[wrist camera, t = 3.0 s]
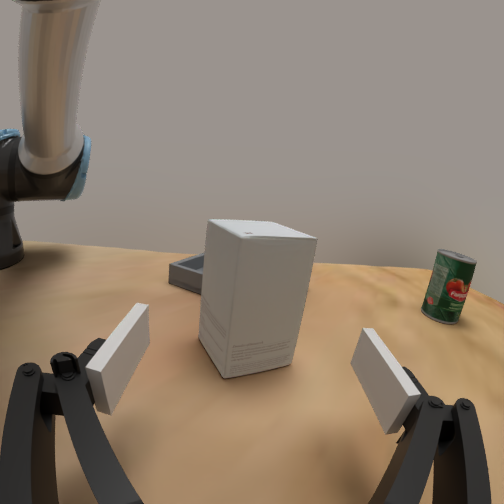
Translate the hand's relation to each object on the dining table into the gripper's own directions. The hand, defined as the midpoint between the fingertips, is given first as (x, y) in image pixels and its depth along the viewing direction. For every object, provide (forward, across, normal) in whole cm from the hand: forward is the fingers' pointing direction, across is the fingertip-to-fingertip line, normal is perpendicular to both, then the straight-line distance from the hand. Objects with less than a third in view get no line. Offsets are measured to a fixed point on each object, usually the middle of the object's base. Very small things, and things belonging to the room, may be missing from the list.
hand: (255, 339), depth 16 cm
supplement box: (+10, 0, -8) cm, 12 cm away
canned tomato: (+22, +34, -8) cm, 42 cm away
